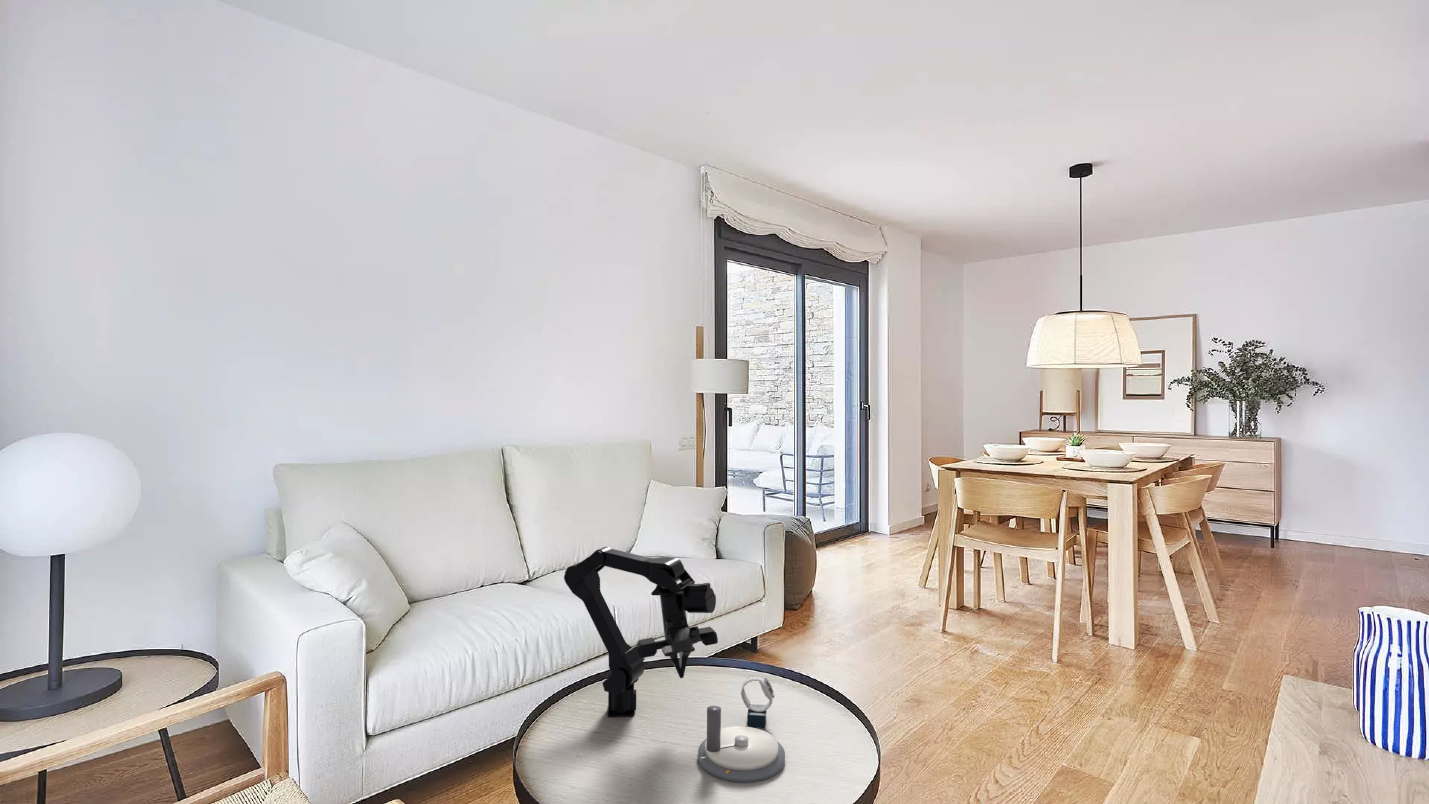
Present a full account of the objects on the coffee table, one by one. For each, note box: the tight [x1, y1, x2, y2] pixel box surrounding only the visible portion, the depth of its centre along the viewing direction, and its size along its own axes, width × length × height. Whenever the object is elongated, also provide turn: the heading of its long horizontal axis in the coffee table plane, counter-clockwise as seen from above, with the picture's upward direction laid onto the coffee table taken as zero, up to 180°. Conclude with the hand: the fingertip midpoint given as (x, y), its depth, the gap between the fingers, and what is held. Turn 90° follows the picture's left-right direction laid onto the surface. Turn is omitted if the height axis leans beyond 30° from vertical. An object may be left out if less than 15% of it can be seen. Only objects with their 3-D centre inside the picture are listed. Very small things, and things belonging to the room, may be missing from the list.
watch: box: [740, 675, 775, 729], centre depth 177 cm, size 6×8×11 cm
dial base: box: [697, 738, 786, 784], centre depth 161 cm, size 19×19×2 cm
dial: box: [705, 705, 779, 771], centre depth 160 cm, size 16×16×10 cm
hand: (681, 677), depth 175 cm, fingers closed
